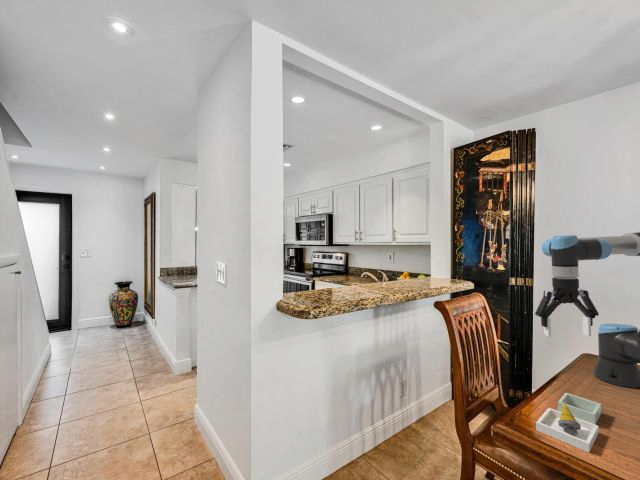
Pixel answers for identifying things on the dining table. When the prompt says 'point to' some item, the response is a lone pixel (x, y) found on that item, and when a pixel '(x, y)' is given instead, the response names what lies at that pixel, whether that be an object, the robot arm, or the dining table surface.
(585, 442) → the tray
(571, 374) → the dining table surface
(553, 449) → the dining table surface
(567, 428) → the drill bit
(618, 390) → the dining table surface
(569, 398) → the pale green square frame
